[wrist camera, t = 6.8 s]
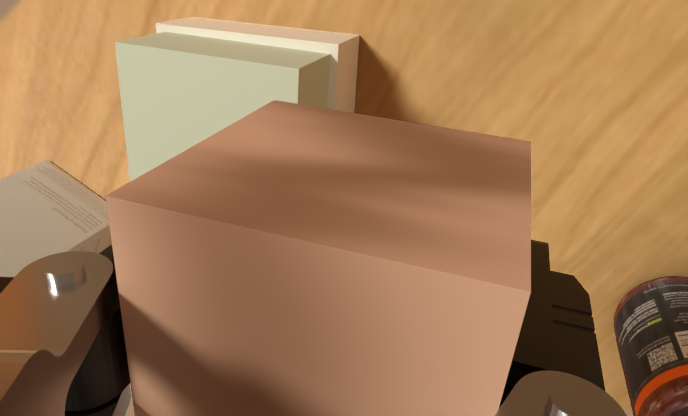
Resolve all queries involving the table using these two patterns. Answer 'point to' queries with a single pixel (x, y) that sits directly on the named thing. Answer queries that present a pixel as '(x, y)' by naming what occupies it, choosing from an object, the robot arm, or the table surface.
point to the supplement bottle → (655, 346)
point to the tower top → (204, 89)
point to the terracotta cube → (325, 268)
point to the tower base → (333, 43)
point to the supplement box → (48, 217)
